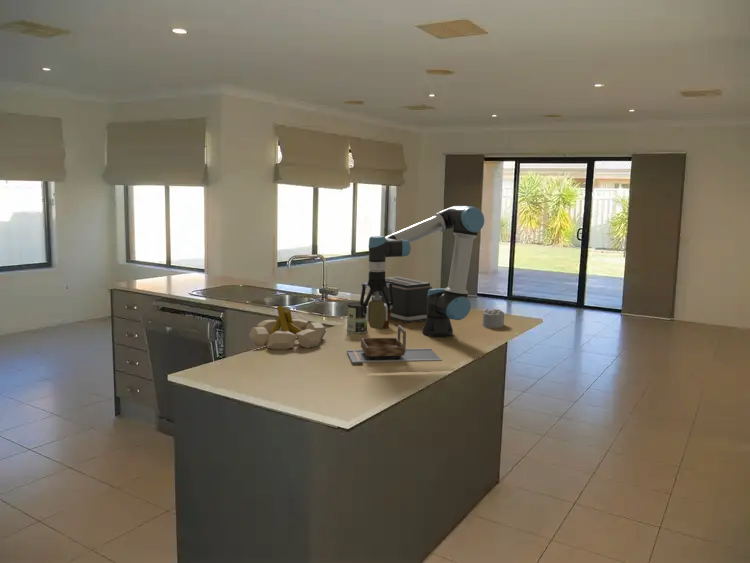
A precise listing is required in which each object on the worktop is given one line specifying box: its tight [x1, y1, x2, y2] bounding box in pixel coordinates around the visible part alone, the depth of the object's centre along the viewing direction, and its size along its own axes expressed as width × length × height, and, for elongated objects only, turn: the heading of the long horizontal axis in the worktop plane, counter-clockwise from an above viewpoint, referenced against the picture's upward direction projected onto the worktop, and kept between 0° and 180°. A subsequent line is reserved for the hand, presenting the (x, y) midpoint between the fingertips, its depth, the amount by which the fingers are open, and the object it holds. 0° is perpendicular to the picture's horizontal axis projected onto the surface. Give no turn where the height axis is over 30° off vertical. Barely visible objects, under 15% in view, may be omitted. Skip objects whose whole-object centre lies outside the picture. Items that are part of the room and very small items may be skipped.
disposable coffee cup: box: [382, 303, 392, 329], centre depth 326 cm, size 10×10×12 cm
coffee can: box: [346, 301, 369, 335], centre depth 313 cm, size 10×10×14 cm
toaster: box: [371, 276, 433, 324], centre depth 354 cm, size 19×35×20 cm, turn 37°
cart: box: [360, 324, 407, 360], centre depth 266 cm, size 17×16×12 cm
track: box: [346, 347, 443, 365], centre depth 268 cm, size 38×18×1 cm, turn 100°
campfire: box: [249, 305, 327, 350], centre depth 291 cm, size 35×34×17 cm
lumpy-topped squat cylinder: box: [482, 308, 505, 329], centre depth 335 cm, size 10×13×9 cm
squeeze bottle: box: [367, 291, 385, 330], centre depth 282 cm, size 8×8×18 cm
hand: (376, 320), depth 283 cm, fingers closed on squeeze bottle, 8 cm apart
